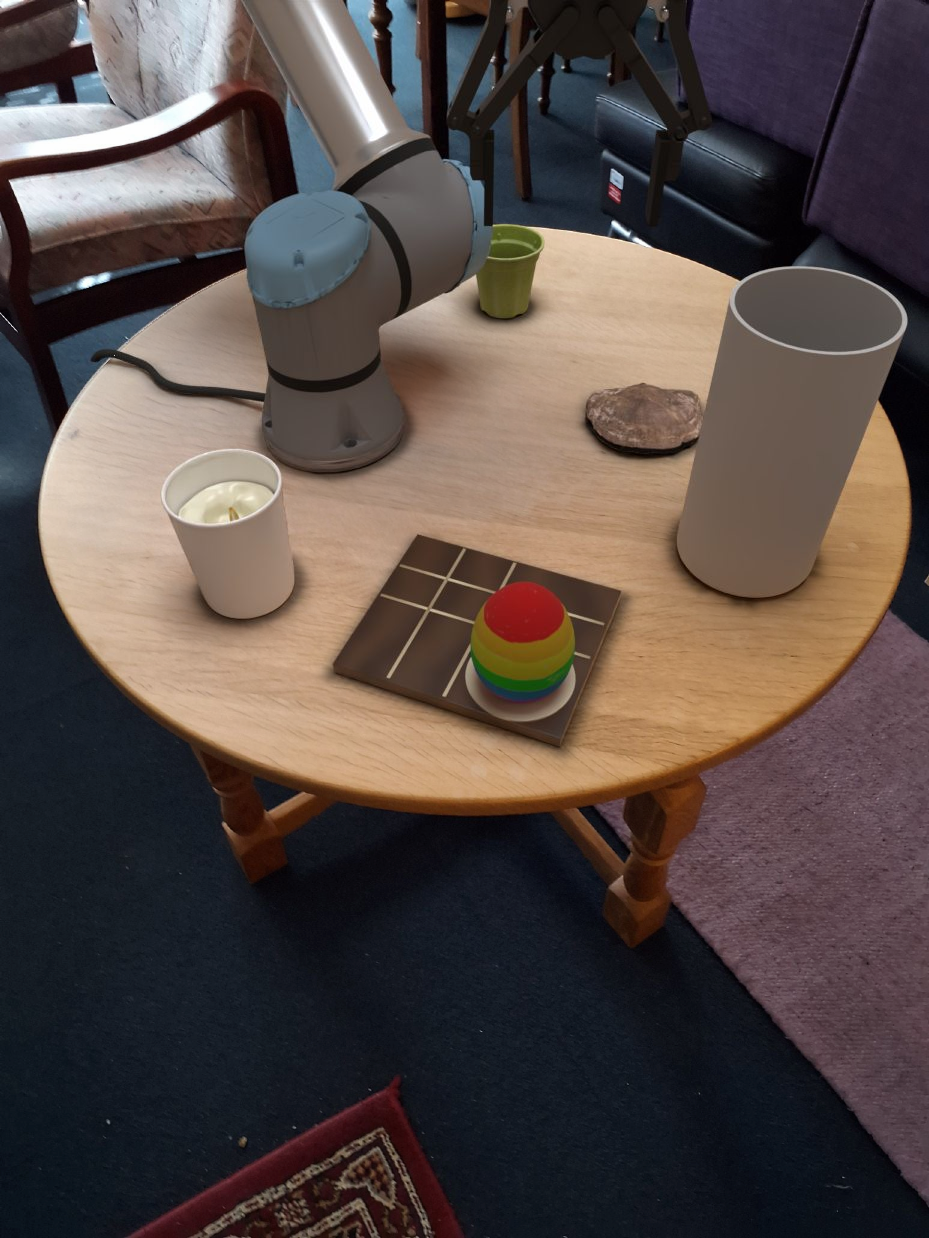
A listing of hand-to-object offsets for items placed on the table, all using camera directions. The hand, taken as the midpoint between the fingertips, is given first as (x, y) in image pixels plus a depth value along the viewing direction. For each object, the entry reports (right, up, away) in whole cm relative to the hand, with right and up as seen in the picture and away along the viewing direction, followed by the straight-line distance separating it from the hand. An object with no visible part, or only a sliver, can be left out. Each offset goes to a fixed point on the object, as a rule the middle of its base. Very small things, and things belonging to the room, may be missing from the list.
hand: (569, 220), depth 75 cm
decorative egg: (-4, -38, -2) cm, 38 cm away
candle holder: (-29, -31, +8) cm, 42 cm away
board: (-7, -35, +3) cm, 36 cm away
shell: (+11, -12, +23) cm, 28 cm away
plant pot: (-4, +7, +40) cm, 41 cm away
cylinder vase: (+17, -27, +10) cm, 34 cm away
